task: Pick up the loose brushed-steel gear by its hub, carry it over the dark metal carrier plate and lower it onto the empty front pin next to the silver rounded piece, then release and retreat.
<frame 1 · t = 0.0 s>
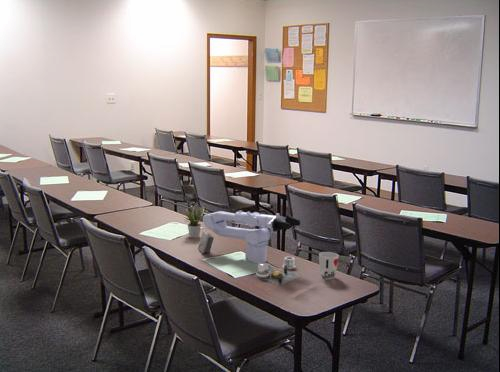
hand: (294, 224, 223), 22 cm above the table, tool horizontal, fingers open, 7 cm apart
cup: (327, 277, 223), on the table
silver rounded piece: (262, 275, 219), resting on carrier
house plant: (196, 236, 279), on the table
electrical switch: (205, 251, 254), on the table
carrier: (277, 278, 220), on the table
gear: (289, 268, 231), on the table
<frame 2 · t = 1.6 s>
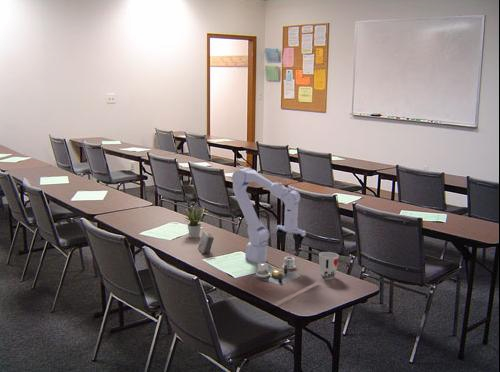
hand: (289, 248, 230), 9 cm above the table, tool pointing down, fingers open, 7 cm apart
nothing on the table moved.
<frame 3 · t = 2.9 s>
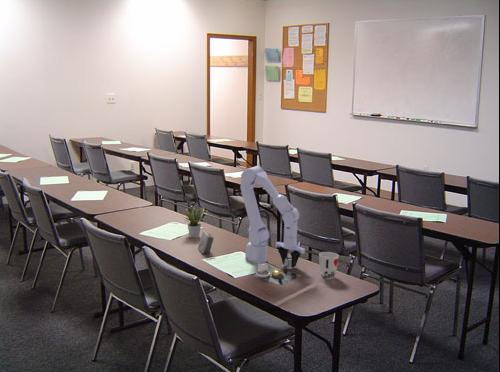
hand: (289, 265, 231), 2 cm above the table, tool pointing down, fingers closed on gear, 4 cm apart
gear: (289, 268, 231), on the table, touching gripper
everything else where it was.
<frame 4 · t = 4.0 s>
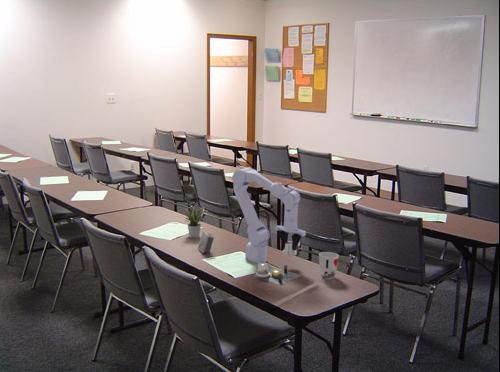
hand: (289, 248, 229), 9 cm above the table, tool pointing down, fingers closed on gear, 4 cm apart
gear: (289, 253, 230), point 7 cm above the table, touching gripper
everything else where it was.
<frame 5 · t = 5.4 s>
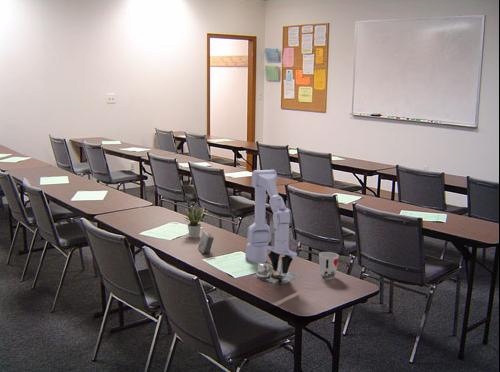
hand: (280, 271, 213), 5 cm above the table, tool pointing down, fingers closed on gear, 4 cm apart
gear: (281, 274, 214), point 4 cm above the table, tilted 10°, touching carrier, gripper
everything else where it was.
when the fingers open (5 cm above the table, at t = 7.1 s): gear drops 3 cm, resting on carrier.
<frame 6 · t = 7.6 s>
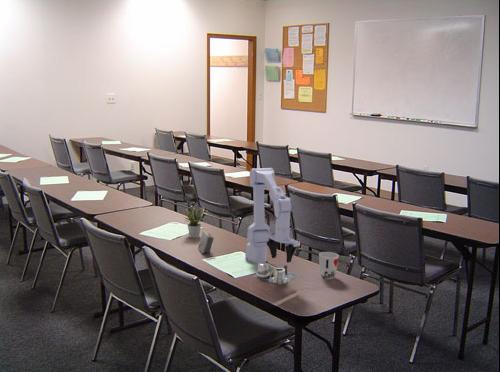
hand: (281, 259, 213), 10 cm above the table, tool pointing down, fingers open, 7 cm apart
gear: (279, 281, 213), point 1 cm above the table, touching carrier
everything else where it was.
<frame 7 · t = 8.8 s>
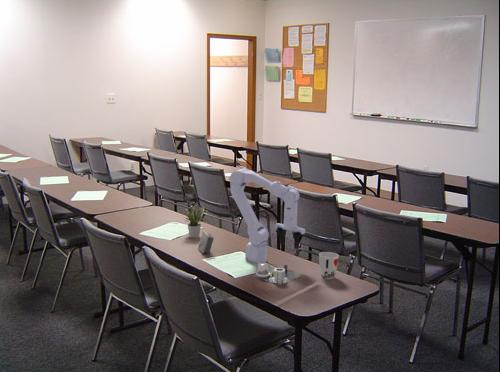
hand: (289, 246, 231), 10 cm above the table, tool pointing down, fingers open, 7 cm apart
nothing on the table moved.
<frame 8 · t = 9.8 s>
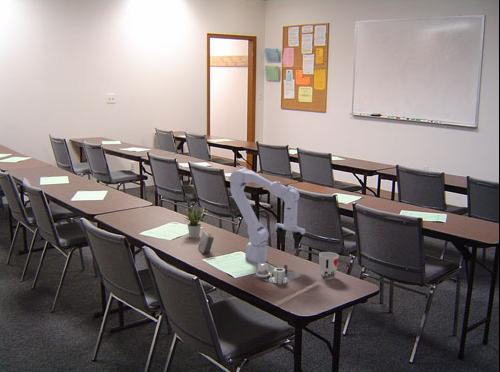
hand: (289, 246, 231), 10 cm above the table, tool pointing down, fingers open, 7 cm apart
nothing on the table moved.
at the end: gear 0.5 cm from the target spot on the carrier, point 1.2 cm above the carrier's base; gear tilted 0°; the gripper is holding nothing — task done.
